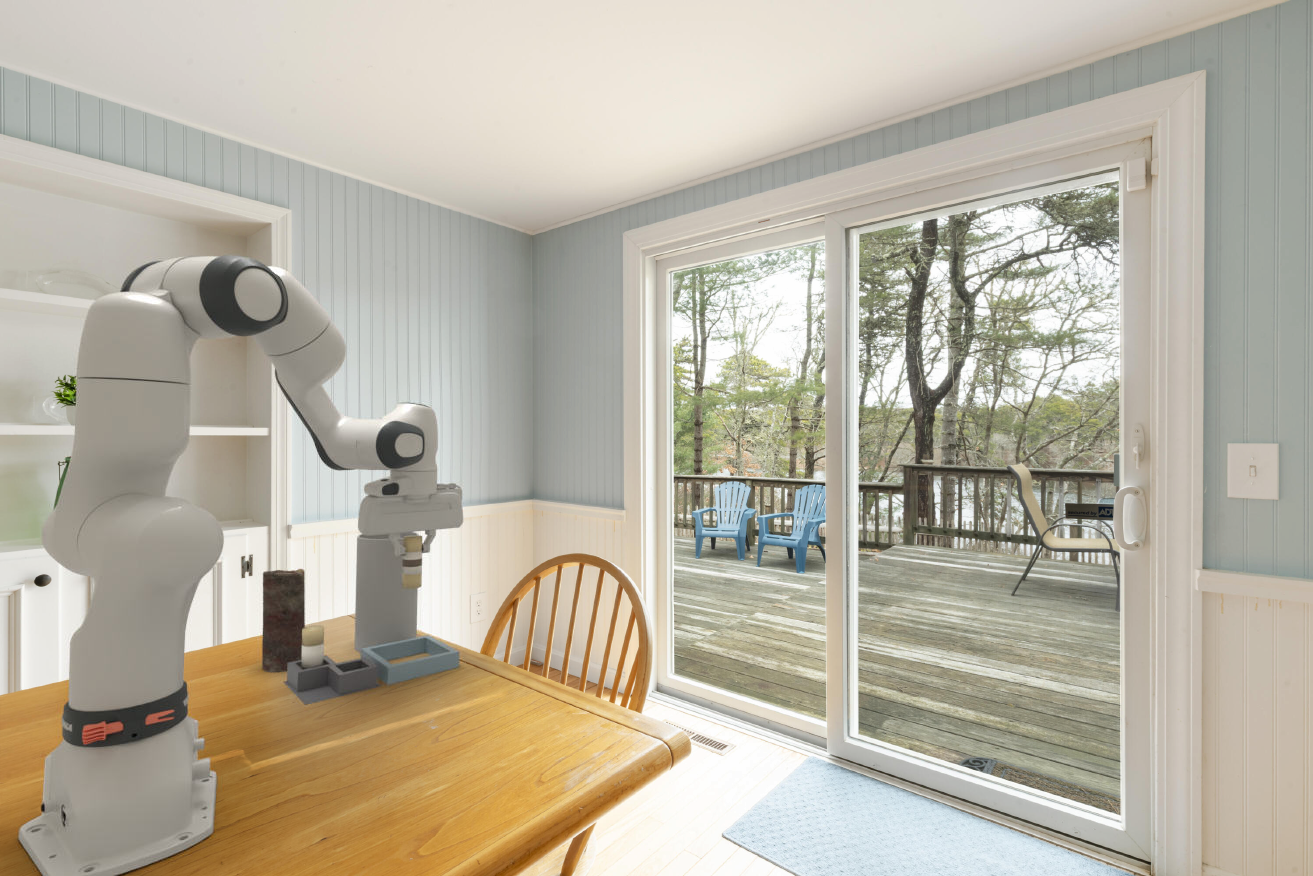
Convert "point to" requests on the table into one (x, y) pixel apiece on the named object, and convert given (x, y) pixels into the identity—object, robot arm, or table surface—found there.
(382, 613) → the cylinder vase
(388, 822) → the table surface
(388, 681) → the parts tray
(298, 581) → the candle
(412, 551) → the fuse
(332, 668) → the fuse holder
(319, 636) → the cylinder
